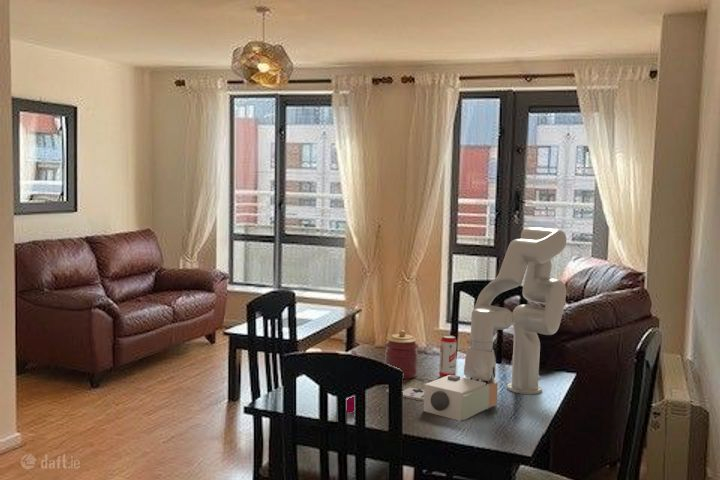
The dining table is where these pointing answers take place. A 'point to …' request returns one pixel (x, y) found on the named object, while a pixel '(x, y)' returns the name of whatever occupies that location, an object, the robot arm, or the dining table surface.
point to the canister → (402, 353)
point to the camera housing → (448, 395)
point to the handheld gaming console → (414, 394)
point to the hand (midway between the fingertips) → (478, 397)
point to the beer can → (447, 355)
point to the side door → (479, 400)
